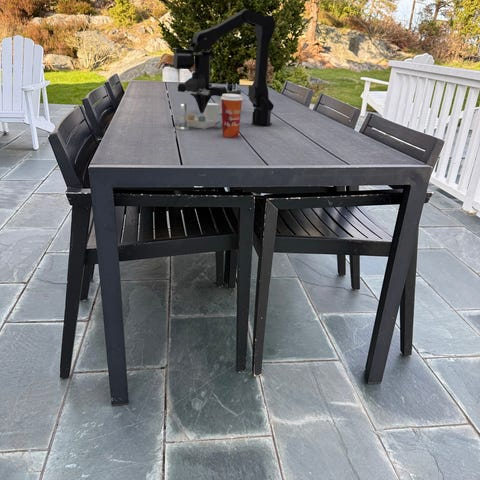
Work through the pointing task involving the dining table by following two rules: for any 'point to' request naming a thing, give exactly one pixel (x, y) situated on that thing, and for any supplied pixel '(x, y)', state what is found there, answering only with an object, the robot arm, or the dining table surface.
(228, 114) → the paper cup
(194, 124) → the panel
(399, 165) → the dining table surface
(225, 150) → the dining table surface
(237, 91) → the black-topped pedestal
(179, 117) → the post
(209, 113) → the grey cylinder
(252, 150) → the dining table surface
